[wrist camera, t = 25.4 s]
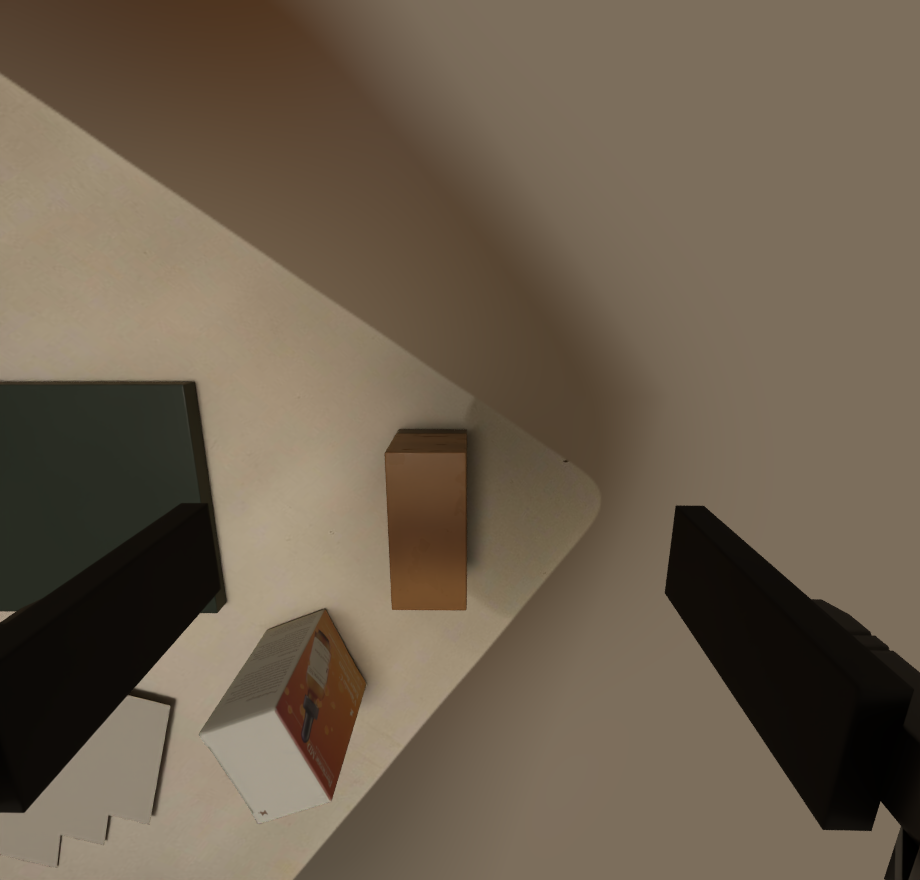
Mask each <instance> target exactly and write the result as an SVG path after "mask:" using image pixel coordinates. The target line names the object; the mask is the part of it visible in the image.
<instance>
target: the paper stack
mask: <svg viewBox="0 0 920 880" xmlns="http://www.w3.org/2000/svg"><path fill="white" fill-rule="evenodd" d="M169 711H170V705H166V704H162V703H158V702H154V701H150V700H146V699H142V698H138V697H134V696H130V695H128V696H127V697H126V698H125V699H124V700H123V701H122V702H121V704H120V705H119V706H118V707H117V708H116V709H115V710H114V712H113V713H112V714H111V715H110V716H109V717H108V718H107V719H106V721H105V722H104V723H103V724H102V725H101V726H100V727H99V729H98V730H97V731H96V732H95V733H94V734H93V735H92V737H91V738H90V739H89V740H88V741H87V742H86V743H85V745H84V746H83V747H82V748H81V749H80V750H79V751H78V752H77V754H76V755H75V756H74V757H73V758H72V759H71V760H70V762H69V763H68V764H67V765H66V766H65V767H64V768H63V770H62V771H61V772H60V773H59V774H58V775H57V776H56V778H55V779H54V780H53V781H52V782H51V783H50V784H49V786H48V787H47V788H46V789H45V790H44V791H43V792H42V793H41V795H40V796H39V797H38V798H37V799H36V800H35V801H34V803H33V804H32V805H31V806H30V807H29V808H28V809H27V811H26V812H25V813H0V855H2V856H6V857H10V858H15V859H19V860H23V861H28V862H32V863H36V864H41V865H45V866H49V867H54V868H57V862H58V854H59V845H60V836H61V835H62V836H67V837H71V838H75V839H79V840H84V841H88V842H92V843H96V844H101V845H104V843H105V836H106V829H107V823H108V816H109V815H110V816H115V817H119V818H123V819H127V820H131V821H136V822H140V823H144V824H148V825H150V819H151V813H152V808H153V802H154V796H155V791H156V785H157V779H158V774H159V768H160V762H161V757H162V751H163V745H164V740H165V734H166V728H167V723H168V717H169Z"/></svg>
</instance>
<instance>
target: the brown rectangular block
mask: <svg viewBox="0 0 920 880" xmlns="http://www.w3.org/2000/svg"><path fill="white" fill-rule="evenodd" d="M385 472H386V494H387V515H388V536H389V558H390V579H391V601H392V610H466V609H467V430H466V429H399V430H398V432H397V433H396V435H395V437H394V438H393V440H392V442H391V443H390V445H389V447H388V448H387V450H386V452H385Z"/></svg>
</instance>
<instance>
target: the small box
mask: <svg viewBox="0 0 920 880" xmlns="http://www.w3.org/2000/svg"><path fill="white" fill-rule="evenodd" d="M365 687H366V682H365V681H364V679H363V677H362V676H361V674H360V673H359V671H358V669H357V668H356V666H355V664H354V662H353V660H352V658H351V657H350V655H349V653H348V651H347V649H346V647H345V645H344V644H343V642H342V640H341V638H340V636H339V634H338V632H337V630H336V628H335V627H334V625H333V623H332V621H331V619H330V617H329V615H328V613H327V611H326V610H321V611H319V612H316V613H313V614H310V615H307V616H305V617H302V618H299V619H296V620H294V621H291V622H288V623H285V624H283V625H280V626H277V627H275V628H272V629H269V630H267V631H266V632H265V634H264V635H263V637H262V639H261V640H260V642H259V643H258V645H257V646H256V648H255V649H254V651H253V652H252V654H251V655H250V657H249V658H248V660H247V661H246V663H245V664H244V666H243V667H242V669H241V670H240V672H239V673H238V675H237V676H236V678H235V679H234V681H233V683H232V684H231V686H230V687H229V689H228V690H227V692H226V693H225V695H224V696H223V698H222V699H221V701H220V702H219V704H218V705H217V707H216V708H215V710H214V711H213V713H212V715H211V716H210V718H209V719H208V721H207V722H206V724H205V725H204V727H203V728H202V730H201V731H200V733H199V736H200V738H201V739H202V741H203V742H204V744H205V745H206V746H207V747H208V748H209V749H210V751H211V752H212V753H213V755H214V756H215V758H216V759H217V761H218V762H219V764H220V765H221V767H222V768H223V770H224V771H225V773H226V774H227V776H228V777H229V779H230V780H231V782H232V783H233V784H234V786H235V788H236V789H237V791H238V792H239V794H240V795H241V797H242V798H243V800H244V801H245V803H246V804H247V806H248V808H249V809H250V811H251V813H252V815H253V817H254V818H255V820H256V822H257V823H258V824H261V823H264V822H268V821H271V820H274V819H278V818H281V817H284V816H287V815H290V814H294V813H297V812H300V811H303V810H307V809H310V808H313V807H316V806H320V805H323V804H325V803H329V802H331V801H332V798H333V794H334V791H335V788H336V784H337V781H338V778H339V774H340V771H341V768H342V765H343V761H344V758H345V754H346V751H347V747H348V744H349V741H350V738H351V734H352V731H353V727H354V724H355V721H356V718H357V714H358V711H359V708H360V704H361V701H362V697H363V694H364V691H365Z"/></svg>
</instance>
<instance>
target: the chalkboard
mask: <svg viewBox="0 0 920 880" xmlns="http://www.w3.org/2000/svg"><path fill="white" fill-rule="evenodd" d="M181 503H208V506H209V513H210V519H211V525H212V532H213V538H214V545H215V551H216V557H217V564H218V570H219V577H220V583H221V590H220V591H219V592H218V593H217V594H216V595H215V597H214V598H213V599H212V600H211V601H210V602H209V603H208V605H207V606H206V607H205V608H204V609H203V610H202V611H201V612H200V613H218V612H219V611H220V609H221V608H222V607H223V606H224V605H225V603H226V597H225V590H224V583H223V576H222V569H221V562H220V555H219V548H218V541H217V534H216V528H215V521H214V514H213V507H212V500H211V493H210V486H209V479H208V472H207V465H206V458H205V451H204V444H203V438H202V431H201V424H200V417H199V410H198V403H197V396H196V389H195V383H194V382H0V611H18V610H19V609H21V608H22V607H25V606H27V605H29V604H31V603H33V602H35V601H37V600H40V599H42V598H44V597H45V596H47V595H48V594H50V593H51V592H52V591H54V590H55V589H57V588H58V587H60V586H61V585H63V584H64V583H66V582H67V581H68V580H70V579H71V578H73V577H74V576H76V575H77V574H79V573H80V572H82V571H83V570H84V569H86V568H87V567H89V566H90V565H92V564H93V563H95V562H96V561H98V560H99V559H101V558H102V557H103V556H105V555H106V554H108V553H109V552H111V551H112V550H114V549H115V548H117V547H118V546H119V545H121V544H122V543H124V542H125V541H127V540H128V539H130V538H131V537H133V536H134V535H135V534H137V533H138V532H140V531H141V530H143V529H144V528H146V527H147V526H149V525H150V524H152V523H153V522H154V521H156V520H157V519H159V518H160V517H162V516H163V515H165V514H166V513H168V512H169V511H170V510H172V509H173V508H175V507H176V506H178V505H179V504H181Z"/></svg>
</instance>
